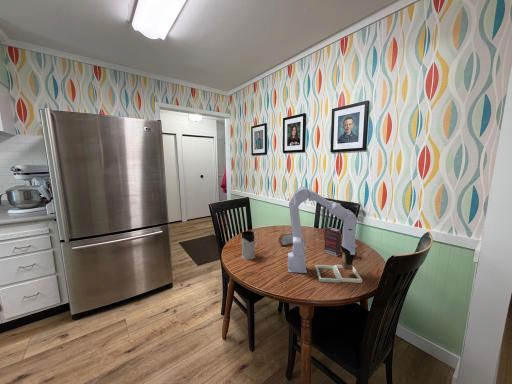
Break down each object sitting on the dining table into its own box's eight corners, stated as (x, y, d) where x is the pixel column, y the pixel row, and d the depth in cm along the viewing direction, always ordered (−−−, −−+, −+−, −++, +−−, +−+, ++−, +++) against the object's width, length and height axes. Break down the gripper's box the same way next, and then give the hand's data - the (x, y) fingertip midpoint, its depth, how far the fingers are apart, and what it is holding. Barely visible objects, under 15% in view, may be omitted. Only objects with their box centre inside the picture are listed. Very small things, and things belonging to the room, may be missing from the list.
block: (344, 269, 103) (344, 256, 102) (342, 265, 107) (342, 252, 106) (352, 269, 102) (353, 256, 101) (350, 266, 106) (350, 253, 105)
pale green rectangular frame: (319, 281, 100) (319, 278, 99) (315, 267, 113) (315, 264, 113) (340, 282, 98) (340, 279, 98) (333, 268, 112) (333, 265, 111)
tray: (340, 281, 99) (340, 278, 99) (334, 267, 112) (334, 264, 112) (362, 282, 98) (362, 279, 98) (352, 268, 111) (353, 265, 111)
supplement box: (340, 254, 128) (341, 229, 126) (336, 256, 125) (337, 231, 123) (328, 250, 135) (328, 226, 133) (323, 252, 132) (324, 228, 130)
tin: (295, 241, 152) (295, 230, 150) (298, 242, 149) (298, 231, 148) (278, 245, 144) (278, 233, 143) (281, 247, 141) (281, 235, 140)
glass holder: (238, 256, 128) (237, 233, 126) (254, 249, 138) (253, 227, 136) (248, 261, 122) (247, 236, 120) (264, 253, 132) (263, 230, 130)
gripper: (362, 242, 95) (361, 270, 97) (352, 231, 109) (351, 256, 111) (346, 241, 96) (345, 269, 98) (338, 231, 110) (337, 255, 112)
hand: (347, 262), depth 104 cm, fingers closed on block, 4 cm apart
